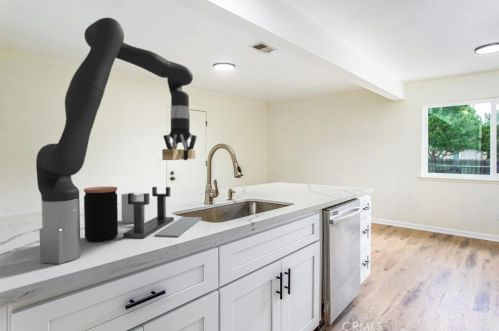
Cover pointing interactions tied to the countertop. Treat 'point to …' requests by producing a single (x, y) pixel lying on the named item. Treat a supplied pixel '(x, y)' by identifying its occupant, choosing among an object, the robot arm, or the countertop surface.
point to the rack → (139, 226)
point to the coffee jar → (100, 214)
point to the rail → (176, 154)
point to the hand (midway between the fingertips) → (180, 159)
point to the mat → (178, 227)
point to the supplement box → (130, 207)
